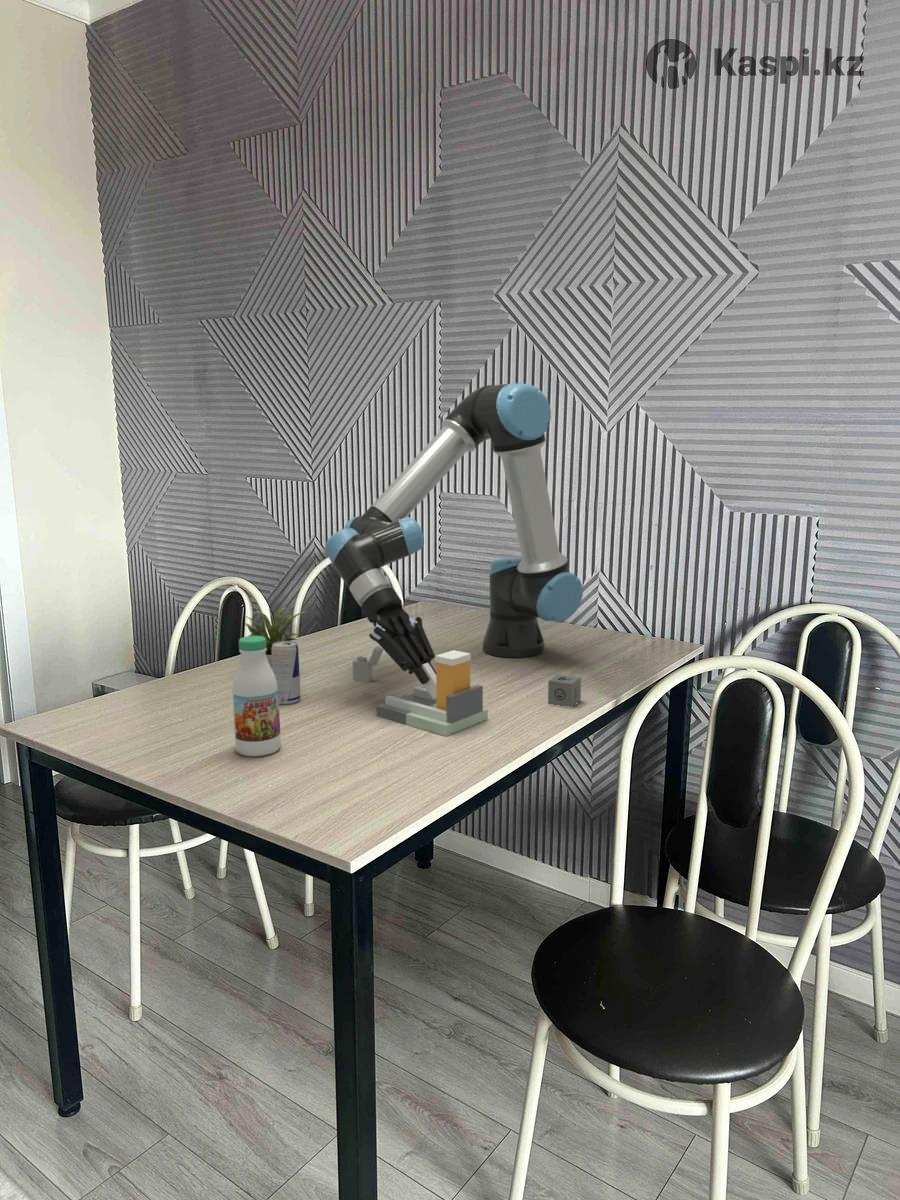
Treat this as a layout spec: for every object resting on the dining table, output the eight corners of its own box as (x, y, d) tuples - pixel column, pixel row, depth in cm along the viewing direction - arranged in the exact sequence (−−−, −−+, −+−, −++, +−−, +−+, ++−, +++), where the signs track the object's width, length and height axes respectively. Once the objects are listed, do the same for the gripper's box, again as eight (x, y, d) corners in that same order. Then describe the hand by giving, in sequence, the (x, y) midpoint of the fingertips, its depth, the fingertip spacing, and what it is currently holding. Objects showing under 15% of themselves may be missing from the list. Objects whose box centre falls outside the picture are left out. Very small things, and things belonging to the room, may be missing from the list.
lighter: (352, 679, 196) (351, 644, 194) (357, 677, 198) (355, 643, 196) (380, 683, 193) (379, 648, 191) (384, 681, 194) (383, 646, 193)
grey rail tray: (376, 715, 172) (375, 680, 171) (418, 700, 181) (418, 667, 179) (446, 736, 160) (445, 699, 159) (487, 719, 169) (487, 684, 168)
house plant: (304, 665, 208) (301, 597, 204) (317, 681, 195) (314, 608, 192) (242, 672, 203) (238, 602, 199) (252, 689, 190) (247, 614, 187)
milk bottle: (227, 749, 155) (220, 638, 151) (265, 738, 160) (259, 630, 156) (251, 761, 149) (244, 646, 145) (289, 749, 155) (284, 637, 151)
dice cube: (557, 697, 182) (557, 674, 181) (580, 701, 180) (581, 677, 179) (548, 704, 178) (548, 680, 177) (571, 708, 175) (572, 684, 174)
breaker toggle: (436, 713, 166) (435, 655, 164) (454, 706, 170) (453, 650, 168) (453, 718, 163) (452, 659, 161) (471, 711, 167) (470, 653, 165)
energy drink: (304, 697, 184) (302, 641, 181) (293, 705, 178) (291, 647, 176) (281, 695, 185) (278, 640, 183) (269, 703, 180) (266, 646, 178)
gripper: (390, 603, 182) (451, 697, 175) (343, 614, 173) (405, 714, 165) (409, 581, 178) (472, 676, 170) (361, 590, 168) (426, 692, 161)
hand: (439, 695), depth 168 cm, fingers closed
